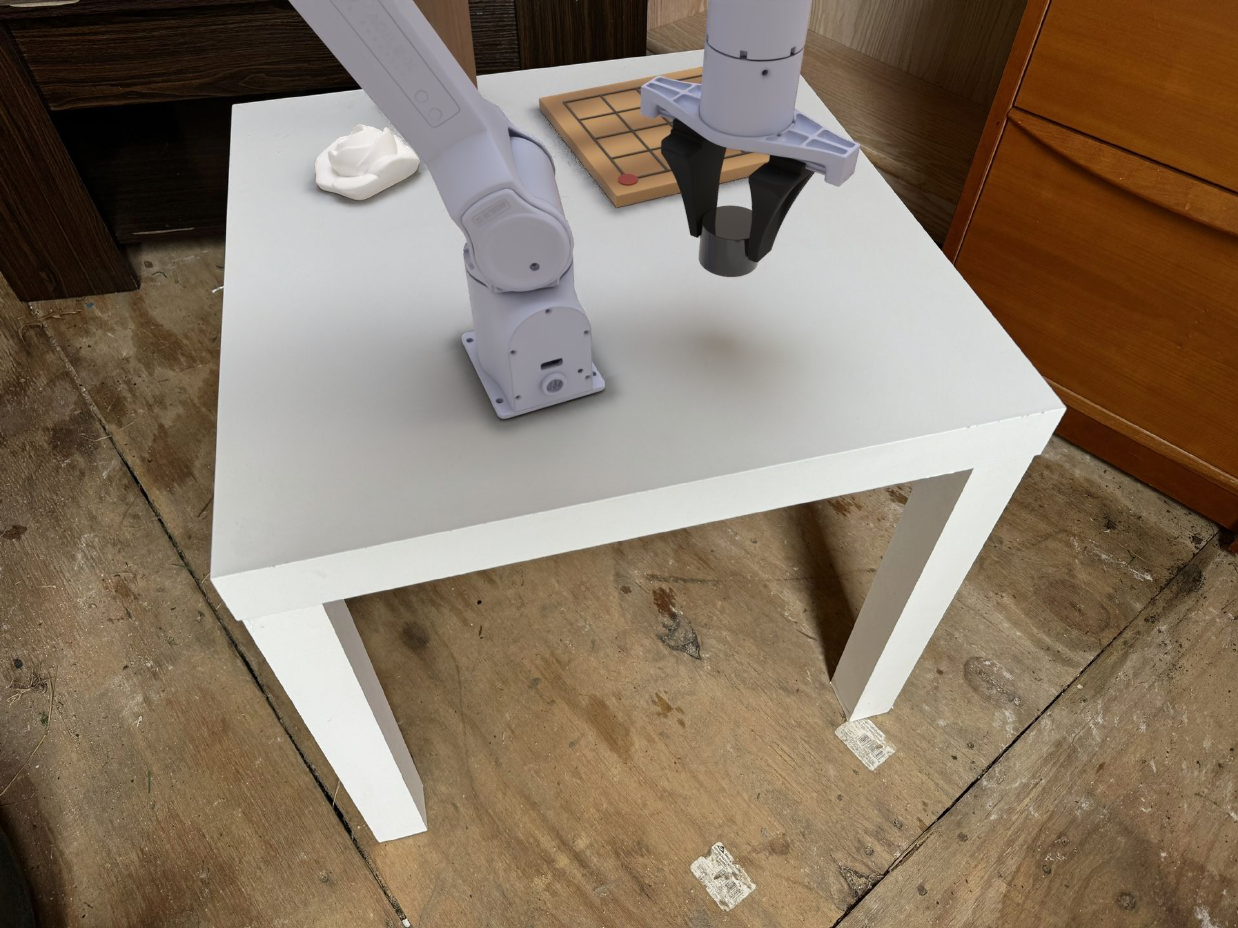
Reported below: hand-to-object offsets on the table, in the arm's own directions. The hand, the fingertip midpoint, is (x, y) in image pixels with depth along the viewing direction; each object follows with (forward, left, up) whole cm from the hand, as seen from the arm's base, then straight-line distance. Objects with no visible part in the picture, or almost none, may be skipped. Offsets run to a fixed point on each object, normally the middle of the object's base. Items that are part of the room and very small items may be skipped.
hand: (730, 242), depth 61 cm
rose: (+33, +19, -9) cm, 39 cm away
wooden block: (+43, +10, -9) cm, 45 cm away
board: (+29, -10, -8) cm, 32 cm away
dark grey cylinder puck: (0, 0, -1) cm, 1 cm away
